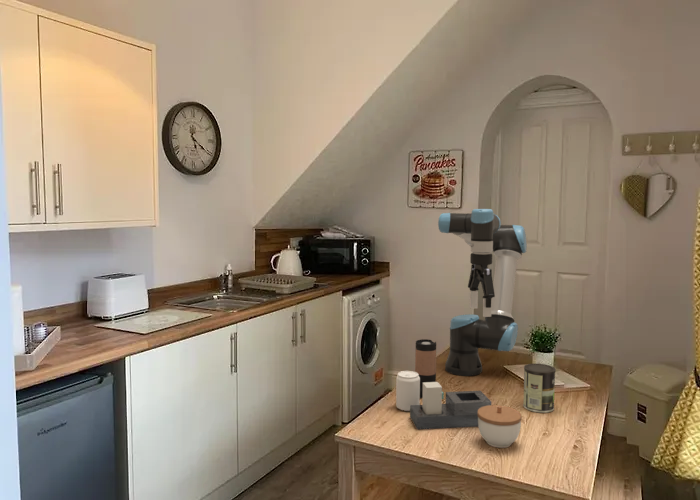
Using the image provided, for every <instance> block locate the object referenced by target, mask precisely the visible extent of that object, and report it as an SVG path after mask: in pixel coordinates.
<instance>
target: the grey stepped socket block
mask: <svg viewBox="0 0 700 500" xmlns="http://www.w3.org/2000/svg"><path fill="white" fill-rule="evenodd" d="M488 405H492V400H491V399H490V398H488V397H487V395H486V394H484V392H483V391H482V390H463V391H445V403H442V414H429V415H425V414H424V413H423V411H422V404H420V405H410V411H409V417H410V419H411V421H412V423H413V425H414V427H415V428H416V430H419V431H421V430H436V429H438V430H439V429H455V428H456V429H457V428H472V427H473V428H475V427H478V415H477V412H478V409H479V408H481V407H483V406H488ZM478 428H479V427H478Z"/></svg>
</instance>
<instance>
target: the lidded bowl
mask: <svg viewBox="0 0 700 500" xmlns="http://www.w3.org/2000/svg"><path fill="white" fill-rule="evenodd" d="M477 415H478V431H479V433H480V436H481V438H483V440H485V442H486V444H487V445H489V446H490V447H494V448H500V449H504V448H509V447H511V446H512V444H513V443H515V441H516V440H517V439H518V437H519V434H520V432H521V427H522V425H521V424H522V418H523V417H522V414H521V412H520V411H519V410H517V409H515V408H512V407H509V406H505V405H501V404H500V405H499V404H491V405H488V406H483V407H481V408H479V409H478V412H477Z"/></svg>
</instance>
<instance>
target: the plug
mask: <svg viewBox="0 0 700 500" xmlns="http://www.w3.org/2000/svg"><path fill="white" fill-rule="evenodd" d="M444 394H445V393H444V391H443V387H442V385H441V384H440V383H439V381H436V382H423V398H421V399H422V400H421V401H422V404H421V405H422V411H423V413H424V414H425V415H429V414H442V404H443V400H445V398H444V397H445V395H444Z"/></svg>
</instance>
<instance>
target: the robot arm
mask: <svg viewBox="0 0 700 500" xmlns="http://www.w3.org/2000/svg"><path fill="white" fill-rule="evenodd" d="M437 223H438V224H437V225H438V230H439V232H440V233H444V234H452V235H455V236H457V237H459V238H461V239H463V240H464V242H465V243H466V244H467V245H469V247H470V252H471V254H470V256H469V257H470V261H469V262H470V264H471V266H470V274H469V279H468V284H467V288H469V309H470V310H473V309H477V310H478V309H479V306H478V304H479V285H480V284H481V289H482V291H483V292H482V293H483V296H482V299H483V300H482V317H483V318H485V319H480V316H479V315H478V314H472V313H471V314H470V313H469V314H461V315H460V314H459V315H457V316H456V315H455V316H453V317H452V318H451V319H450V323H449V324H450V325H449V326H450V327H449V353H448V356H447V357H446V358H447V359H446V361H445V365H444V367H445V368H444V369H445V370H444V371H446V372H447V373H449V374H452V375H456V376H463V377H465V376H466V377H470V376H471V377H473V376H478V375H480V374H481V373H482V372H483V365H482V361H481V358H480V355H479V349H485V350H493V351H498V352H510V351H512V350H513V349H514V346H515V345H516V341H517V338H518V332H519V331H518V330H519V325H518V323H516V322H515V320H516V319H515V318H514V317H513V315H512V311H513V310H512V309H513V304H514V303H513V302H514V293H515V285H516V284H515V283H516V275H517V274H516V273H517V266H518V261H519V260H520V259H521V258H522V255H523V254H525V253H526V252H527V234H526V230H525V227H523V225H516V224H502V223H501V219H500V217H499V216H498V215H497V214H495V213H494V210H493V209H491V208H473V209H471V213H463V212H462V213H458V212H457V213H456V212H453V213H452V212H445V213H444V212H443V213H441V214H440V215H439V217H438V222H437ZM492 252H493V254H492ZM493 256H494V257H495V259H496V260H495V268H494V275H492V268H488V266H490V265H492V264H493Z"/></svg>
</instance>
